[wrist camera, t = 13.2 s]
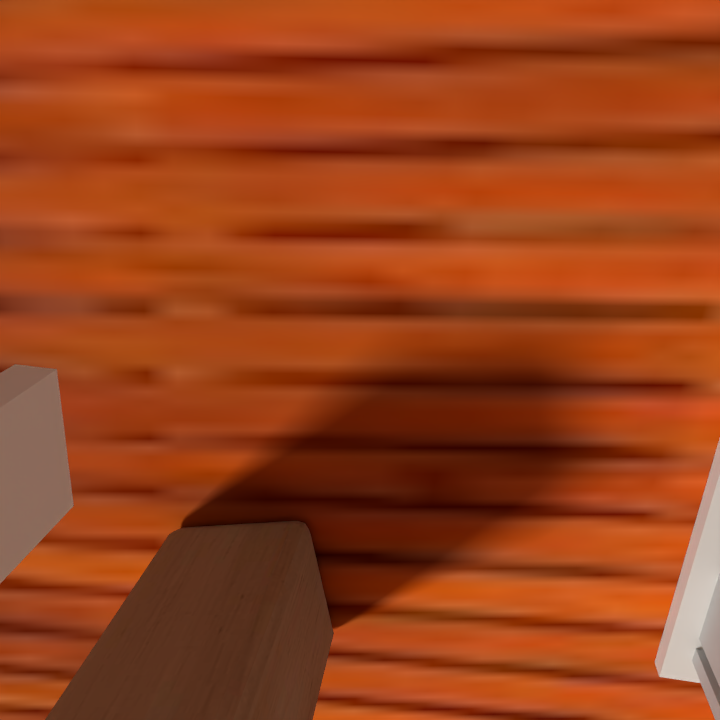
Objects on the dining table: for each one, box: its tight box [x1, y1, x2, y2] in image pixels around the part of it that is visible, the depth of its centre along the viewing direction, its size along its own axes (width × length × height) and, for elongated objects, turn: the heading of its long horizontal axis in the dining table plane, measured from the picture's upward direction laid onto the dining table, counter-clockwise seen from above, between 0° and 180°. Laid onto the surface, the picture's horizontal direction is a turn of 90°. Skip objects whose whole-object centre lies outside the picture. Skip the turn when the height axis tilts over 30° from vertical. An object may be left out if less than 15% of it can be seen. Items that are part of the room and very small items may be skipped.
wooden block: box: [45, 521, 334, 720], centre depth 38 cm, size 10×10×20 cm
